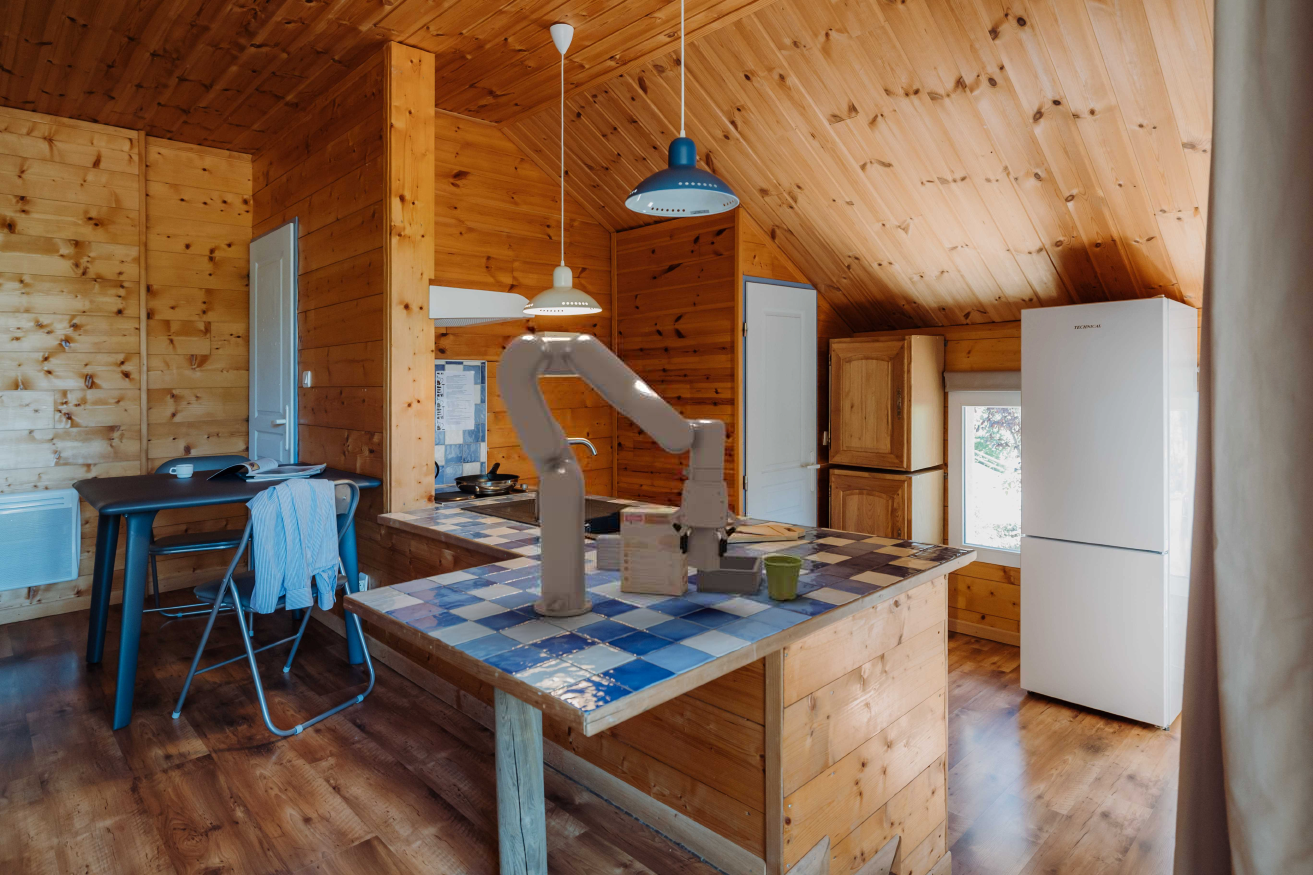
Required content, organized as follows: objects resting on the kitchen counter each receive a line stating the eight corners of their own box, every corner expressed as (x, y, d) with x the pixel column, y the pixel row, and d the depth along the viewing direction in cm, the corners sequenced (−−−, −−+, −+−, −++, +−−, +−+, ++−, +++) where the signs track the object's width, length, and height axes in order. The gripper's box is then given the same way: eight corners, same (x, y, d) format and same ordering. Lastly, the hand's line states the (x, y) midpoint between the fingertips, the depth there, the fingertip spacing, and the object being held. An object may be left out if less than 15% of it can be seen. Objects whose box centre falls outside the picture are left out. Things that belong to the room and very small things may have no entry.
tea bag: (707, 571, 161) (709, 526, 161) (686, 565, 166) (687, 521, 166) (719, 569, 164) (721, 524, 163) (698, 563, 169) (700, 519, 168)
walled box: (756, 594, 173) (756, 571, 173) (696, 591, 176) (696, 568, 176) (762, 578, 189) (762, 556, 188) (707, 575, 192) (707, 553, 191)
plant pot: (808, 594, 173) (809, 558, 173) (794, 605, 165) (795, 566, 164) (771, 589, 178) (771, 553, 177) (755, 599, 170) (755, 561, 169)
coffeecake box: (688, 588, 179) (688, 508, 178) (681, 596, 172) (681, 512, 171) (629, 584, 183) (628, 505, 182) (619, 592, 176) (619, 510, 175)
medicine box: (628, 566, 201) (627, 534, 201) (625, 570, 197) (625, 538, 196) (599, 566, 202) (598, 534, 201) (596, 569, 198) (595, 537, 197)
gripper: (663, 474, 162) (661, 554, 163) (744, 479, 158) (740, 561, 159) (670, 471, 169) (668, 548, 170) (747, 476, 165) (744, 554, 166)
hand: (703, 554), depth 165 cm, fingers closed on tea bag, 7 cm apart
